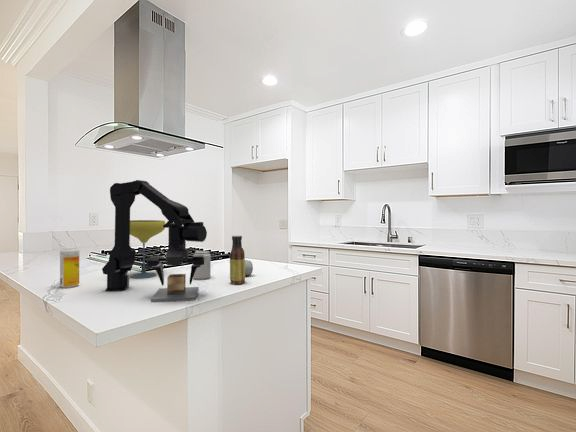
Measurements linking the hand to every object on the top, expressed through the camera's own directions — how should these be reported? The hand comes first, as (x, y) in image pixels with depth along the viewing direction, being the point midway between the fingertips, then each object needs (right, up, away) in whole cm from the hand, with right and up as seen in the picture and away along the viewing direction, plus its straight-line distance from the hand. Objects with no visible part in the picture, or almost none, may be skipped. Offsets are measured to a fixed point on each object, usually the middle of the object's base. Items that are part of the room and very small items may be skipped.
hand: (176, 284), depth 108 cm
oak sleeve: (0, -3, 0) cm, 3 cm away
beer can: (-45, -3, +11) cm, 47 cm away
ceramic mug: (+17, -4, +35) cm, 39 cm away
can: (+1, -4, +28) cm, 28 cm away
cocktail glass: (-26, -3, +31) cm, 41 cm away
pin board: (0, -4, 0) cm, 4 cm away
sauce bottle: (+18, -4, +19) cm, 27 cm away
